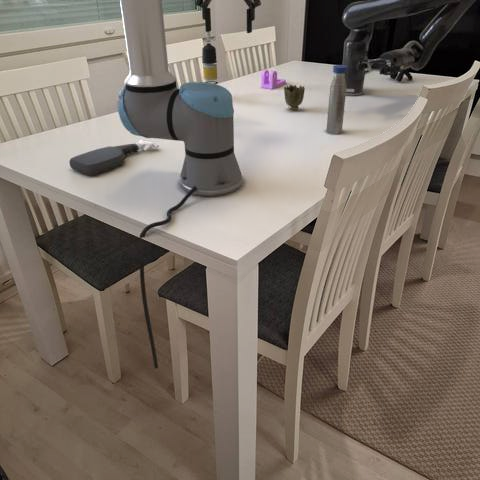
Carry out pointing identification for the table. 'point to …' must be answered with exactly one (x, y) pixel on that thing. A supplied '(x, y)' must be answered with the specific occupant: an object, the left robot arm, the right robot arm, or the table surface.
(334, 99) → the bottle
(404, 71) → the squiggle
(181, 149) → the table surface
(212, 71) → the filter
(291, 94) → the cup
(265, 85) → the bracket
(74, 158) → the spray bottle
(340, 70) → the cap
